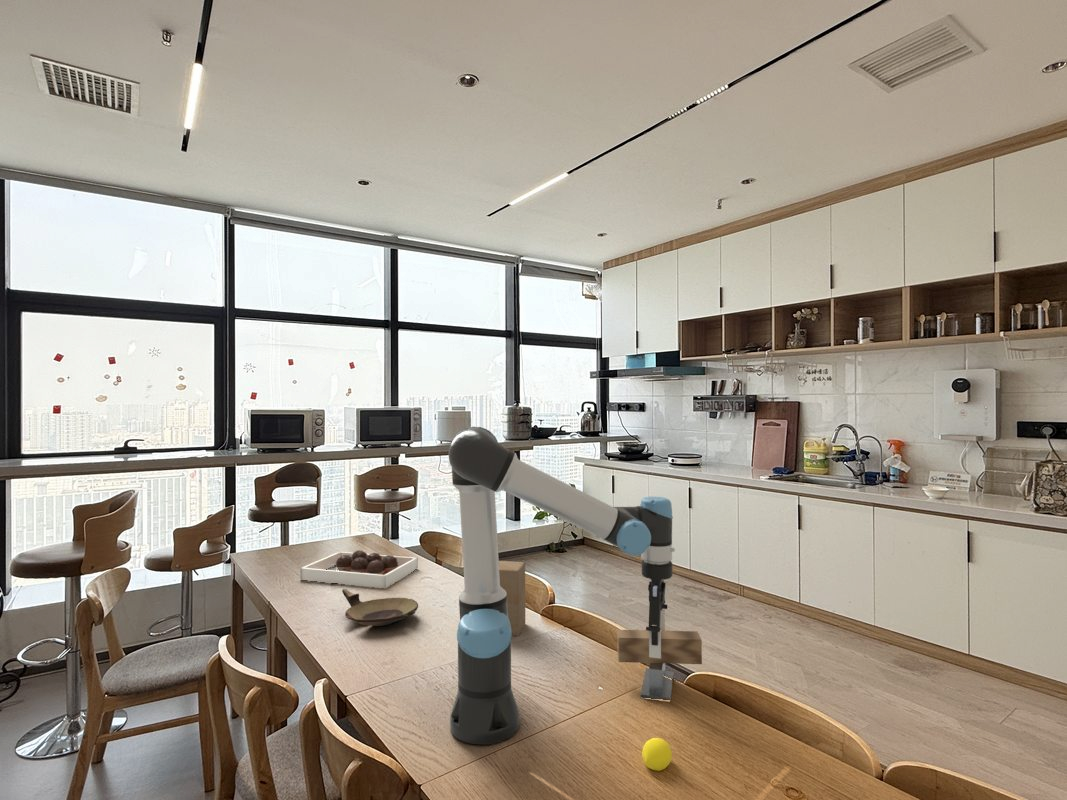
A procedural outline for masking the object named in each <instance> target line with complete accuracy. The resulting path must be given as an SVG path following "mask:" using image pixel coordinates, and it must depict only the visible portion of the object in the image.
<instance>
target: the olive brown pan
mask: <svg viewBox="0 0 1067 800" xmlns="http://www.w3.org/2000/svg"><path fill="white" fill-rule="evenodd" d="M341 591H342V594H343V596H344V597H345V599H346V600H347V602H348V603H349V606H350V607H349V608H348V609H347V610H345V617H346V619H348V620H349V621H354V622H355V623H357V624H359V625H363V626H370V627H373V626H375V627H378V626H379V627H380V626H386V625H391V624H394V623H396V622H398V621H401V620H403V619H406V618H408V617H409V616H412V615H414V614H416V611H417V610H418V608H419V603H418V602H417V601H416V600H414V599H413V598H407V597H387V598H376V599H371V600H366V601H361V600H360V593H353V592H350V590H348V589H346V588H343V589H342V590H341Z"/></svg>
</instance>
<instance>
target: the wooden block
mask: <svg viewBox="0 0 1067 800" xmlns="http://www.w3.org/2000/svg"><path fill="white" fill-rule="evenodd" d="M499 577H500V586H501V587H502V588H503V589H504V590H505V591H506V593H507V609H508V618H509V621H510V625H511V630H512V637H519V636H520V634H521V632H522V630H523V629H524V627H525V626H526V563H525V561H511V560H509V561H508V560H499Z"/></svg>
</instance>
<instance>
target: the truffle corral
mask: <svg viewBox="0 0 1067 800" xmlns="http://www.w3.org/2000/svg"><path fill="white" fill-rule="evenodd" d="M353 553H354V552H349V551H338V552H336V553H333V554H331V555H329V556H327V557H324V558H322V559H319V560H317V561H313V562H311V563H310V564H307V565H304V566H302V567H300V568H299V570H300V575H299V576H300V577H299V578H300V580H309V581H308V582H310V581H317V582H316V583H320V582H325V583H324V584H331V583H338V584H337V585H341V584H345V585H344V586H351V585H355V586H354V587H362V586H363V587H362V588H372V587H374V588H375V589H382V588H383V589H387V588H389V587H391V586H392V585H393V584H396V583H397V582H399V581H400V580H403V579H404V578H405V577H407V576H409V575H410V574H412V573H414V572H415V571H416V570H415V569H417V568H418V569H419V563H418V560H419V559H418V557H411V556H398V555H392V556H393V557H394V558H397V562H398V567H397V568H396V569H394V570H392V571H390V572H389V573H387V574H385V575H379V574H368V573H357V572H346V571H335V570H336V569H331V568H333V567H335V566H334V565H335V564H336V562H337V559H338V558H339V557H341V556H343V555H349V556H350V557H352V554H353ZM366 554H367V556H368V555H370V554H371V553H366ZM380 555H381V557H382V560H383V558H384V557H385V556H388V555H387V554H386V555H385V554H380ZM332 566H333V567H332ZM330 567H331V568H330ZM328 568H329V569H328ZM326 569H327V570H326ZM418 569H417V570H418ZM414 570H415V571H414ZM413 571H414V572H413ZM411 572H412V573H411ZM408 574H409V575H408ZM395 582H396V583H395ZM390 585H391V586H390ZM383 589H382V590H383Z"/></svg>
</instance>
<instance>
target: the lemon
mask: <svg viewBox="0 0 1067 800" xmlns="http://www.w3.org/2000/svg"><path fill="white" fill-rule="evenodd" d="M641 756H642V760H643V763H644V764H645V765H646V767H647V768H648V769H650V770H652V771H657V772H660V771H663V770H665V769H666V768H667V767H668V765H670V763H671V761H672V758H673V752H672V749H671V747H670V743H668V742H667V741H665V740H664V739H663V738H661V737H653V738H650V739H649V740H647V741H646V742H645V743H644V745H643V747H642V752H641Z"/></svg>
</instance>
